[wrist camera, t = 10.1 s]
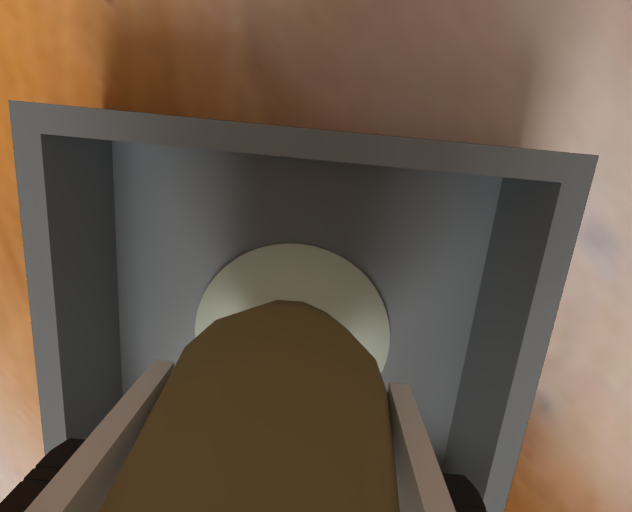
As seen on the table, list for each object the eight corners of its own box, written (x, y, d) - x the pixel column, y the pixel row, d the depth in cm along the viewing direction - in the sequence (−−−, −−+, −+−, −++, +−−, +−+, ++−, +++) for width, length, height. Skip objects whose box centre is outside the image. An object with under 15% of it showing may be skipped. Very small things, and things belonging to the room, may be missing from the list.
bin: (445, 496, 23) (481, 597, 18) (117, 464, 23) (55, 555, 18) (518, 156, 18) (598, 155, 13) (101, 117, 18) (8, 100, 13)
